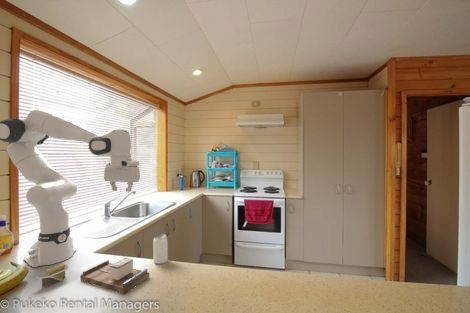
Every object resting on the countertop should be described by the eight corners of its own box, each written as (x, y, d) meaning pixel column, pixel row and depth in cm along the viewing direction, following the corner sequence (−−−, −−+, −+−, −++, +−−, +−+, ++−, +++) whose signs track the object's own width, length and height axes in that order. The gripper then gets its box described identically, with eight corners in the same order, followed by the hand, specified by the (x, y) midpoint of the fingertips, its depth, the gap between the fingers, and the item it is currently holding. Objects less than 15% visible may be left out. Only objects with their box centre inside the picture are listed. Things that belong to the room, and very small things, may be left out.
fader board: (80, 280, 90) (80, 271, 90) (107, 266, 101) (107, 258, 101) (124, 294, 80) (124, 284, 80) (149, 277, 91) (149, 268, 91)
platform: (87, 275, 94) (87, 260, 94) (35, 301, 78) (35, 282, 78) (70, 270, 99) (70, 255, 99) (18, 293, 83) (18, 275, 83)
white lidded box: (110, 278, 86) (110, 265, 86) (125, 269, 93) (125, 257, 93) (118, 280, 85) (117, 267, 85) (133, 271, 91) (132, 259, 91)
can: (163, 265, 101) (162, 239, 101) (150, 263, 103) (150, 238, 103) (170, 258, 108) (169, 234, 108) (158, 257, 109) (157, 233, 109)
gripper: (100, 162, 106) (100, 191, 106) (131, 162, 98) (131, 193, 98) (111, 162, 112) (112, 189, 112) (141, 162, 104) (142, 191, 104)
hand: (121, 191), depth 105 cm, fingers open, 8 cm apart
